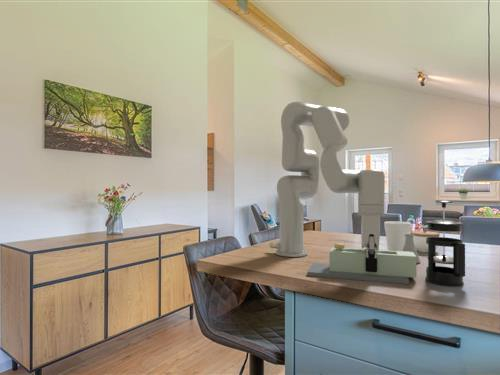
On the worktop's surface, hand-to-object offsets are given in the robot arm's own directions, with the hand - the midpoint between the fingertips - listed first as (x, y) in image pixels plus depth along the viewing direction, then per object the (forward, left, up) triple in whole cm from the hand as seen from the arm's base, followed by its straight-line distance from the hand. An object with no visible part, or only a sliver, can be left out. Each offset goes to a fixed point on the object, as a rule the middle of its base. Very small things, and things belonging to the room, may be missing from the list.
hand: (370, 268), depth 101 cm
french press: (+20, -1, -2) cm, 20 cm away
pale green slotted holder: (0, 0, -1) cm, 1 cm away
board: (-4, 0, -2) cm, 5 cm away
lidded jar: (+23, +48, -2) cm, 53 cm away
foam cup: (+11, +34, -2) cm, 36 cm away
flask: (+14, +24, -2) cm, 28 cm away
